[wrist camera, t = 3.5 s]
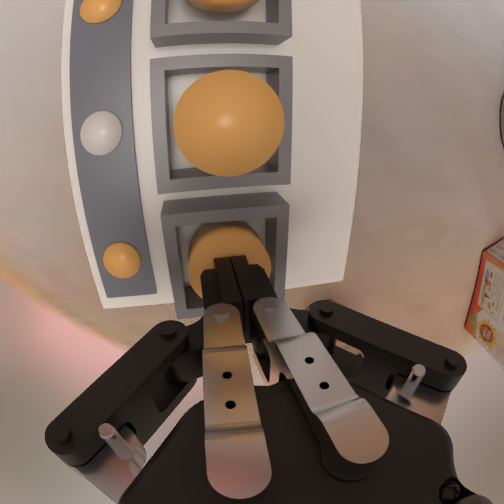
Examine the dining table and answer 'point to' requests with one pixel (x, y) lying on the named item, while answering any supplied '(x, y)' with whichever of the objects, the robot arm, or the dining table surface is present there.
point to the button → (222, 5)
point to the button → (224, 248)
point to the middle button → (228, 123)
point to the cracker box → (489, 303)
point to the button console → (174, 162)
